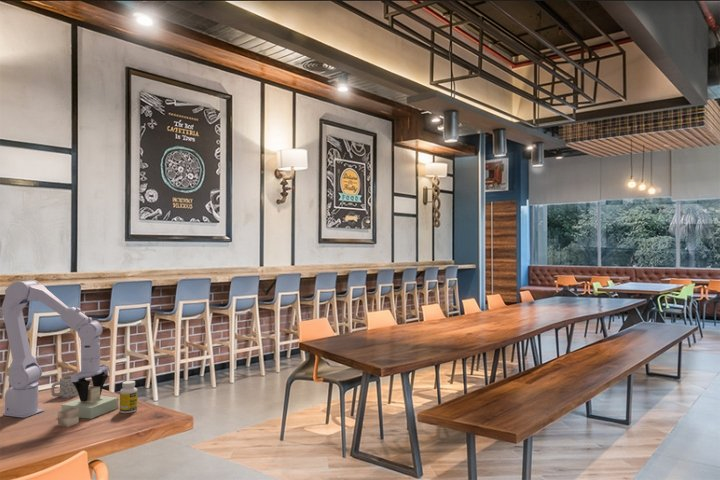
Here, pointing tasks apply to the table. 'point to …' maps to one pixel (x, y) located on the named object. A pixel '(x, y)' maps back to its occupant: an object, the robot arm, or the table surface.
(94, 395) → the tall beige block
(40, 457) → the table surface
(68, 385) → the mug
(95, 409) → the hole block
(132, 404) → the supplement bottle
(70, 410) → the short pin
